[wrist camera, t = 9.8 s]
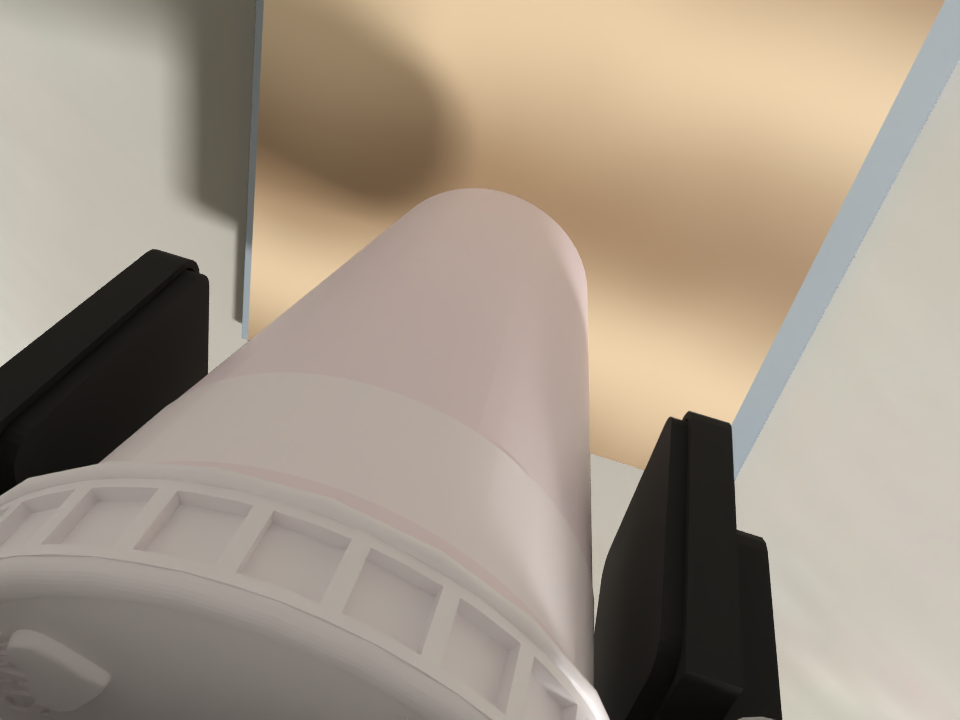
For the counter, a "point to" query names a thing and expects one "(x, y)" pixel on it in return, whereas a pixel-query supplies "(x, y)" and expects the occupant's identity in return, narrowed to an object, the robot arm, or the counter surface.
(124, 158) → the counter surface
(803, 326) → the base board
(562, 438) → the smoothie
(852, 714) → the counter surface
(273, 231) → the oak riser
